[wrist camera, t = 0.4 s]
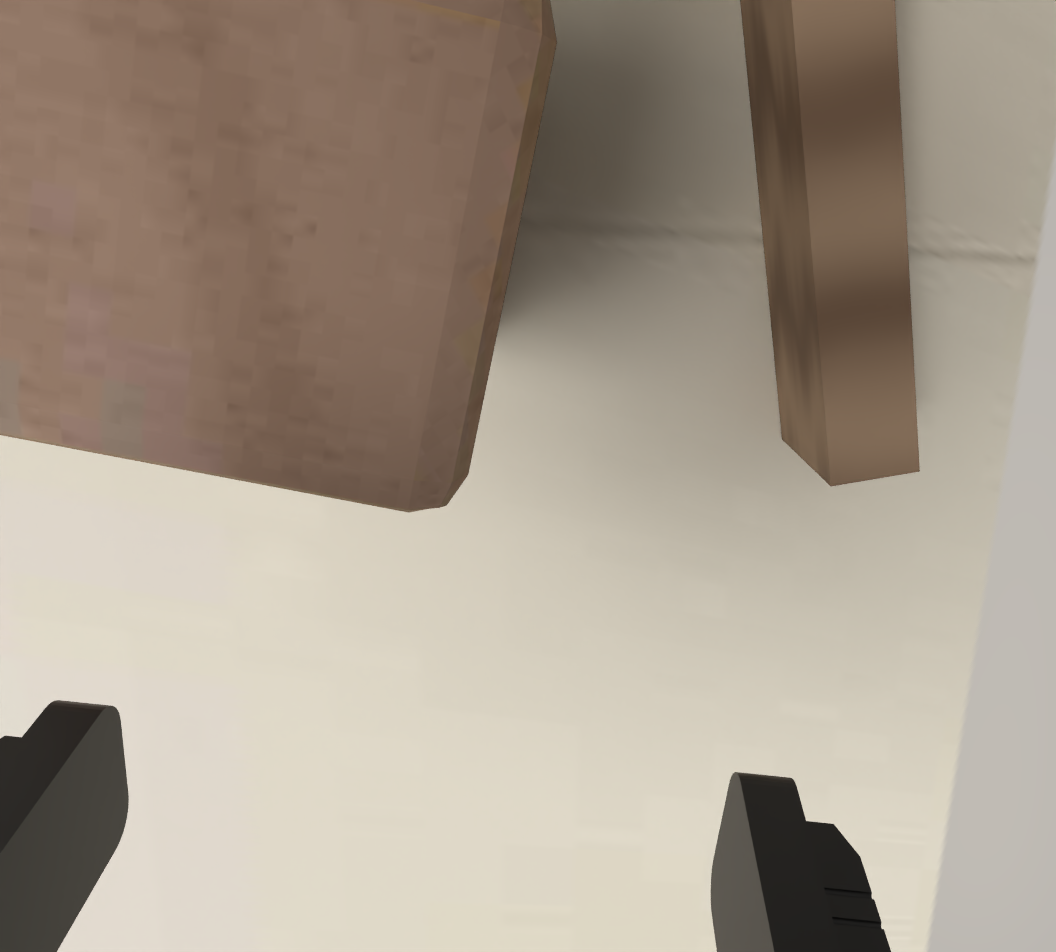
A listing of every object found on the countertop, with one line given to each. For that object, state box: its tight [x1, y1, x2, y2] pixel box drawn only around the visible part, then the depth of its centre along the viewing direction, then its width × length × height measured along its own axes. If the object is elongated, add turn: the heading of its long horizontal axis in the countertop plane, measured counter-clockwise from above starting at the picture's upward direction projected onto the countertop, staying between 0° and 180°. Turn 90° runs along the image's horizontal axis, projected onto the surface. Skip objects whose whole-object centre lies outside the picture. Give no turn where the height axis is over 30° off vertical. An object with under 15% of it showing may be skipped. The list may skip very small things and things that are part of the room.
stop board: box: [740, 0, 920, 486], centre depth 33 cm, size 24×3×6 cm, turn 10°
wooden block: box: [0, 0, 557, 512], centre depth 27 cm, size 10×10×20 cm
